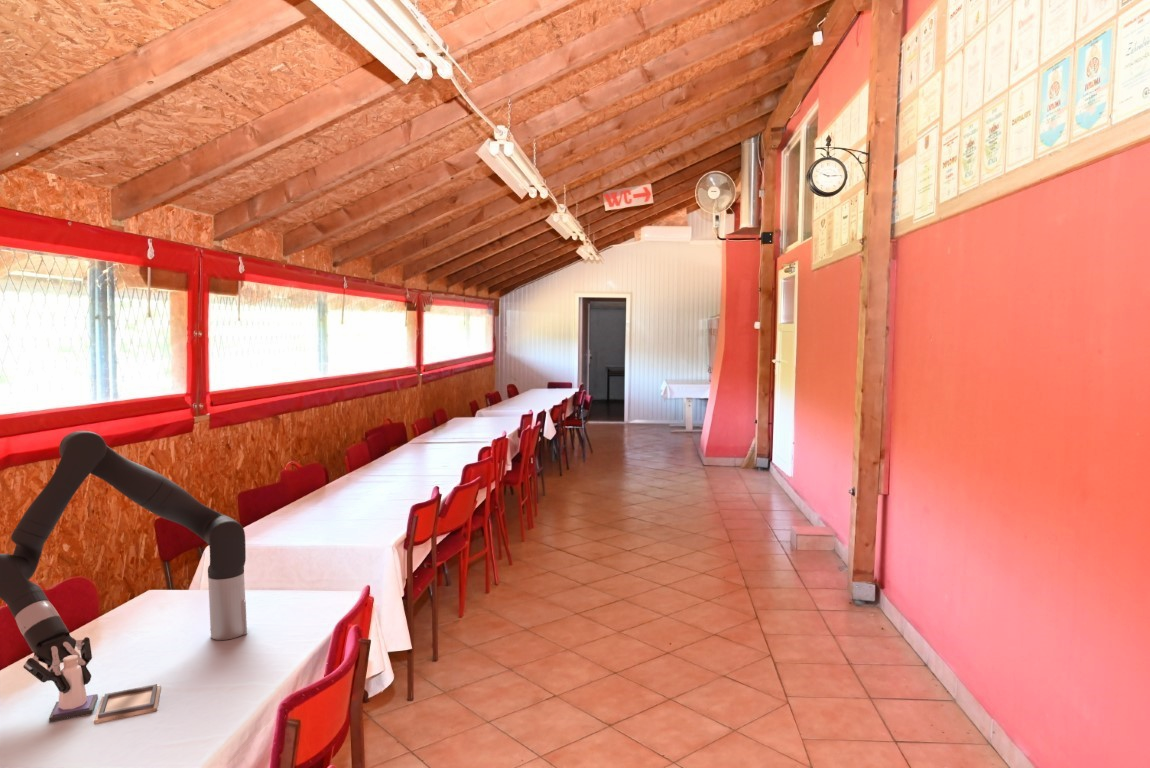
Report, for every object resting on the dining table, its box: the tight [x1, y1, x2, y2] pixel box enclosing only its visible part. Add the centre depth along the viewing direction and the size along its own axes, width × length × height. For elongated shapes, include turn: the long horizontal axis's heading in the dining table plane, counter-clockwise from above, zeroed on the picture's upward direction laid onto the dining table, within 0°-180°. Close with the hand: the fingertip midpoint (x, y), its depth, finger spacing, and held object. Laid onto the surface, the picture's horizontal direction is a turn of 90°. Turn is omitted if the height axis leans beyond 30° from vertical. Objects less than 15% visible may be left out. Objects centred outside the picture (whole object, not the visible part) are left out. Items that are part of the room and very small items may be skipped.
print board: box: [93, 683, 162, 724], centre depth 169 cm, size 12×12×1 cm
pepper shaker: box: [58, 655, 88, 710], centre depth 166 cm, size 5×5×11 cm
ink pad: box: [48, 693, 99, 723], centre depth 167 cm, size 8×8×1 cm
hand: (77, 686), depth 165 cm, fingers closed on pepper shaker, 3 cm apart
